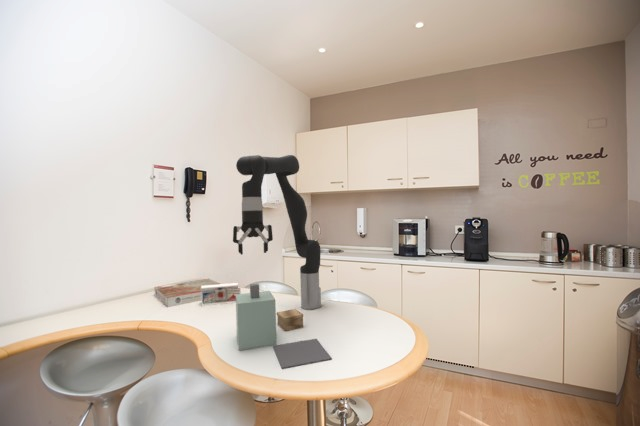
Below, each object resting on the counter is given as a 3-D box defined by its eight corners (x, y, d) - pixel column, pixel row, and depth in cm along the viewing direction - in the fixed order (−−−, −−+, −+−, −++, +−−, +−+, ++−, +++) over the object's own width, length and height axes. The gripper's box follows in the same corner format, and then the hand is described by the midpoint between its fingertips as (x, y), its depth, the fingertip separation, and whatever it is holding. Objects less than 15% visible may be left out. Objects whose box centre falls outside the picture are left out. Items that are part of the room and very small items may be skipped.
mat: (316, 339, 110) (316, 338, 110) (331, 359, 95) (331, 358, 95) (273, 346, 105) (272, 345, 105) (281, 368, 90) (281, 367, 90)
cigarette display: (200, 306, 155) (200, 288, 155) (202, 303, 160) (201, 285, 160) (240, 302, 160) (240, 284, 160) (240, 299, 165) (240, 282, 165)
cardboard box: (295, 320, 130) (295, 308, 130) (303, 327, 123) (303, 314, 123) (277, 324, 126) (276, 312, 126) (284, 331, 119) (284, 318, 119)
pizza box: (167, 297, 154) (154, 287, 179) (167, 308, 154) (154, 296, 179) (227, 286, 175) (208, 278, 199) (227, 296, 175) (208, 286, 199)
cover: (270, 331, 119) (269, 279, 119) (276, 344, 107) (275, 286, 107) (236, 336, 115) (235, 282, 115) (238, 350, 103) (237, 290, 103)
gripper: (270, 209, 117) (271, 251, 117) (231, 210, 113) (233, 253, 113) (273, 209, 110) (274, 253, 110) (232, 210, 105) (233, 256, 105)
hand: (253, 253), depth 111 cm, fingers open, 8 cm apart
